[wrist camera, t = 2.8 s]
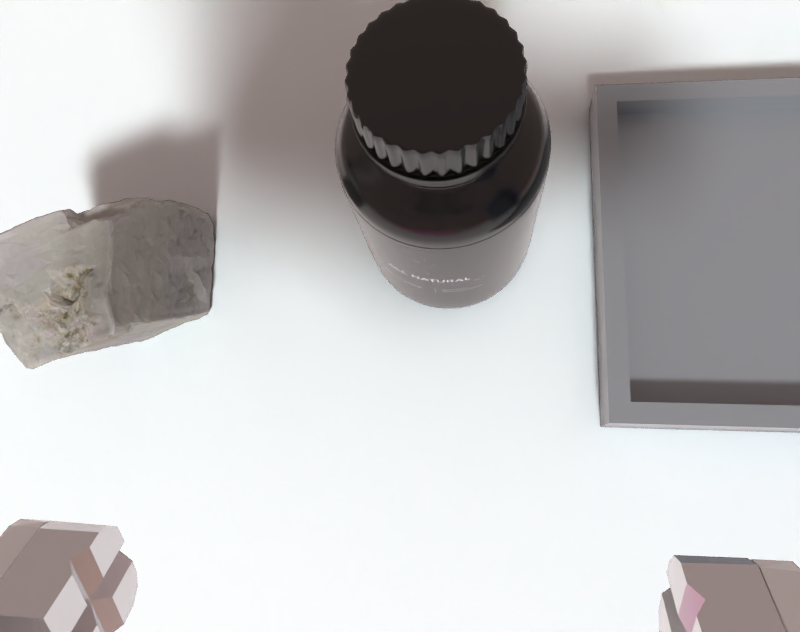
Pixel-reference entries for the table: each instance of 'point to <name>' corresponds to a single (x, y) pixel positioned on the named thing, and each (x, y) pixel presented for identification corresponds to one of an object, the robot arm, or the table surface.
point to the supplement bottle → (443, 149)
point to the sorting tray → (698, 254)
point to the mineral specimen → (103, 277)
